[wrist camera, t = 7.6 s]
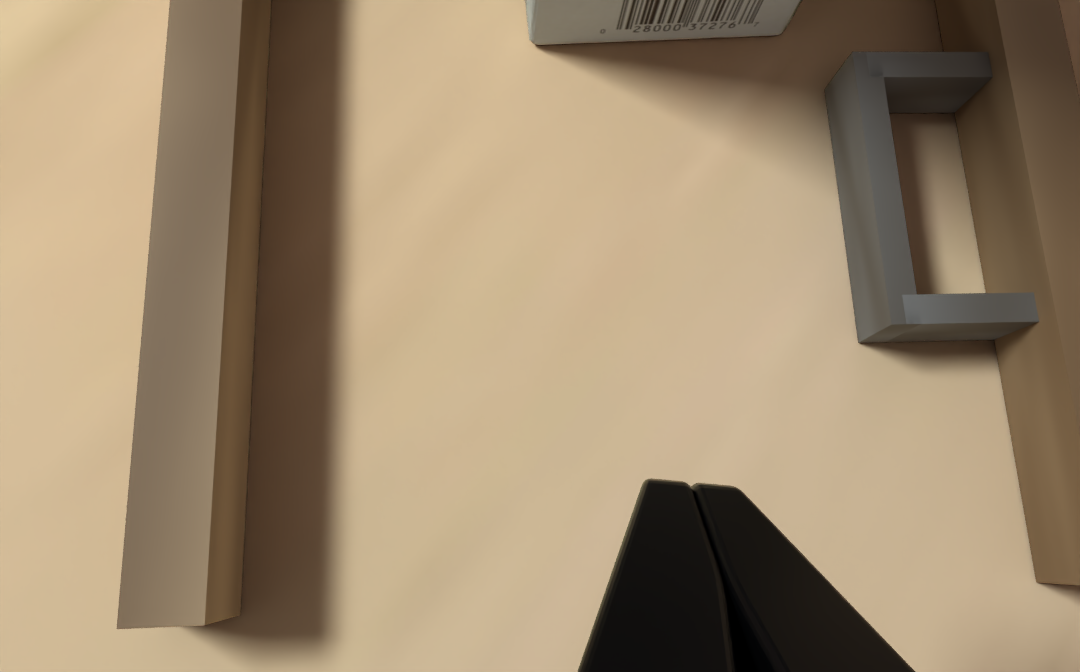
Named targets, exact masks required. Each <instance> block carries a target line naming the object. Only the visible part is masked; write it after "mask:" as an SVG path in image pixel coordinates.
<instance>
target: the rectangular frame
mask: <svg viewBox="0 0 1080 672" xmlns="http://www.w3.org/2000/svg"><path fill="white" fill-rule="evenodd" d="M271 1H272V0H170V7H169V19H168V30H167V42H166V54H165V66H164V78H163V89H162V101H161V113H160V125H159V136H158V148H157V160H156V172H155V184H154V195H153V207H152V219H151V231H150V243H149V254H148V266H147V278H146V290H145V301H144V313H143V325H142V337H141V349H140V360H139V372H138V384H137V396H136V408H135V419H134V431H133V443H132V455H131V466H130V478H129V490H128V502H127V514H126V525H125V537H124V549H123V561H122V572H121V584H120V596H119V608H118V620H117V629H131V628H155V627H179V626H203V625H208V624H211V623H215V622H218V621H222V620H225V619H229V618H232V617H236V616H239V615H241V595H242V575H243V555H244V536H245V516H246V496H247V476H248V456H249V436H250V417H251V397H252V377H253V357H254V337H255V318H256V298H257V278H258V258H259V238H260V219H261V199H262V179H263V159H264V139H265V119H266V100H267V80H268V60H269V40H270V20H271ZM935 4H936V9H937V15H938V21H939V26H940V32H941V38H942V44H943V49H944V52H852V53H851V54H850V56H849V57H848V58H847V60H846V61H845V62H844V64H843V65H842V67H841V68H840V69H839V71H838V72H837V73H836V75H835V76H834V77H833V79H832V80H831V81H830V83H829V84H828V86H827V87H826V88H825V96H826V104H827V111H828V119H829V126H830V134H831V141H832V149H833V156H834V164H835V171H836V179H837V186H838V194H839V201H840V209H841V216H842V224H843V232H844V239H845V247H846V254H847V262H848V269H849V277H850V284H851V292H852V299H853V307H854V314H855V322H856V329H857V337H858V343H867V342H914V341H960V340H994V342H995V348H996V353H997V359H998V365H999V371H1000V376H1001V382H1002V388H1003V394H1004V399H1005V405H1006V411H1007V416H1008V422H1009V428H1010V434H1011V439H1012V445H1013V451H1014V457H1015V462H1016V468H1017V474H1018V480H1019V485H1020V491H1021V497H1022V502H1023V508H1024V514H1025V520H1026V525H1027V531H1028V537H1029V543H1030V548H1031V554H1032V560H1033V566H1034V571H1035V577H1036V582H1039V583H1053V584H1067V585H1080V99H1079V95H1078V90H1077V85H1076V81H1075V76H1074V72H1073V67H1072V62H1071V58H1070V53H1069V48H1068V44H1067V39H1066V35H1065V30H1064V25H1063V21H1062V16H1061V11H1060V7H1059V2H1058V0H935ZM889 113H955V118H956V124H957V130H958V135H959V141H960V147H961V153H962V158H963V164H964V170H965V176H966V181H967V187H968V193H969V199H970V204H971V210H972V216H973V221H974V227H975V233H976V239H977V244H978V250H979V256H980V262H981V267H982V273H983V279H984V285H985V290H986V293H974V294H917V292H916V286H915V279H914V273H913V266H912V259H911V253H910V246H909V240H908V233H907V227H906V220H905V214H904V207H903V201H902V194H901V188H900V181H899V174H898V168H897V161H896V155H895V148H894V142H893V135H892V129H891V122H890V116H889Z"/></svg>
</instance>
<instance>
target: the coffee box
mask: <svg viewBox="0 0 1080 672" xmlns="http://www.w3.org/2000/svg"><path fill="white" fill-rule="evenodd" d="M801 1H802V0H525V2H526V13H527V22H528V31H529V38H530V41H531V42H532V43H534V44H537V45H549V44H572V43H597V42H624V41H650V40H675V39H699V38H714V37H745V36H769V35H779V34H781V33H782V32H783V31H784V30H785V29H786V27H787V25H788V24H789V22H790V20H791V19H792V17H793V15H794V14H795V12H796V10H797V8H798V6H799V5H800V3H801Z"/></svg>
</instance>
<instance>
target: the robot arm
mask: <svg viewBox="0 0 1080 672" xmlns="http://www.w3.org/2000/svg"><path fill="white" fill-rule="evenodd" d="M578 672H915V671H914V670H913V669H912V668H911V667H910V666H909V665H908V664H907V663H906V662H905V661H904V660H903V659H902V657H901V656H900V655H899V654H898V653H897V652H896V651H895V650H894V649H893V648H892V647H891V646H890V645H889V644H888V643H887V642H886V641H885V640H884V639H883V638H882V637H881V636H880V635H879V634H878V632H877V631H876V630H875V629H874V628H873V627H872V626H871V625H870V624H869V623H868V622H867V621H866V620H865V619H864V618H863V617H862V616H861V615H860V614H859V613H858V612H857V611H856V610H855V608H854V607H853V606H852V605H851V604H850V603H849V602H848V601H847V600H846V599H845V598H844V597H843V596H842V595H841V594H840V593H839V592H838V591H837V590H836V589H835V588H834V587H833V586H832V585H831V583H830V582H829V581H828V580H827V579H826V578H825V577H824V576H823V575H822V574H821V573H820V572H819V571H818V570H817V569H816V568H815V567H814V566H813V565H812V564H811V563H810V562H809V561H808V560H807V558H806V557H805V556H804V555H803V554H802V553H801V552H800V551H799V550H798V549H797V548H796V547H795V546H794V545H793V544H792V543H791V542H790V541H789V540H788V539H787V538H786V537H785V536H784V535H783V533H782V532H781V531H780V530H779V529H778V528H777V527H776V526H775V525H774V524H773V523H772V522H771V521H770V520H769V519H768V518H767V517H766V516H765V515H764V514H763V513H762V512H761V511H760V509H759V508H758V507H757V506H756V505H755V504H754V503H753V502H752V501H751V500H750V499H749V498H748V497H747V496H746V495H745V494H744V493H743V492H742V491H741V490H739V489H738V488H736V487H733V486H727V485H716V484H705V483H696V484H694V485H693V486H691V487H690V485H688V484H687V483H685V482H682V481H672V480H662V479H647V480H645V481H644V482H643V485H642V487H641V490H640V493H639V495H638V498H637V501H636V504H635V507H634V510H633V513H632V516H631V519H630V521H629V524H628V527H627V530H626V533H625V536H624V539H623V542H622V545H621V548H620V550H619V553H618V556H617V559H616V562H615V565H614V568H613V571H612V574H611V576H610V579H609V582H608V585H607V588H606V591H605V594H604V597H603V600H602V602H601V605H600V608H599V611H598V614H597V617H596V620H595V623H594V626H593V628H592V631H591V634H590V637H589V640H588V643H587V646H586V649H585V652H584V654H583V657H582V660H581V663H580V666H579V669H578Z"/></svg>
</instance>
